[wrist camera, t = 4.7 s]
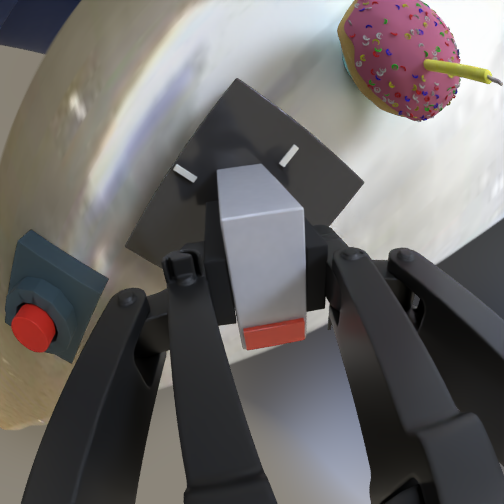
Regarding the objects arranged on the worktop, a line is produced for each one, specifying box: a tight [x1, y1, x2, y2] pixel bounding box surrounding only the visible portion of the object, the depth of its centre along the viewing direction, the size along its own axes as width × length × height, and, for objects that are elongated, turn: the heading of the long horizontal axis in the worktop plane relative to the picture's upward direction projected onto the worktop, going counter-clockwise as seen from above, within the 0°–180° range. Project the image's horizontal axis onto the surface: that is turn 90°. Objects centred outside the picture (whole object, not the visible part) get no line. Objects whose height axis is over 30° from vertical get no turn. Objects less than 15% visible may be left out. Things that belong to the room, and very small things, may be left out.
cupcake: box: [337, 0, 503, 122], centre depth 11 cm, size 9×8×12 cm
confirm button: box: [11, 304, 55, 352], centre depth 17 cm, size 4×4×2 cm
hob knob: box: [216, 164, 306, 350], centre depth 13 cm, size 6×3×8 cm, turn 6°
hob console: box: [125, 78, 364, 307], centre depth 18 cm, size 12×10×3 cm
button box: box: [5, 230, 108, 364], centre depth 19 cm, size 10×8×4 cm
